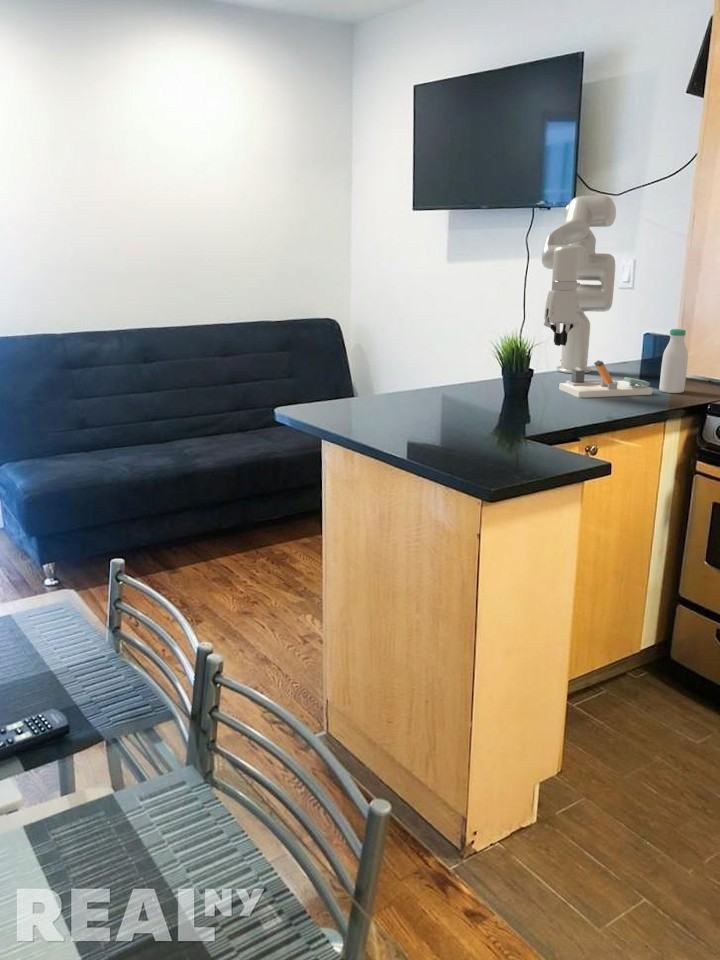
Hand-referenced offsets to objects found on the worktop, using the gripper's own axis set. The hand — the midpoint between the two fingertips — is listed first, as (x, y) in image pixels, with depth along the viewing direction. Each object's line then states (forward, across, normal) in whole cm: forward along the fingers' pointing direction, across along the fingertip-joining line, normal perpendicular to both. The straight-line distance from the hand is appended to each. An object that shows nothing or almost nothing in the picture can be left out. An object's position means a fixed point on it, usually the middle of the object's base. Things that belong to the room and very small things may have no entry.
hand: (560, 344), depth 263 cm
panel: (+15, -14, +4) cm, 21 cm away
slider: (+13, -7, 0) cm, 15 cm away
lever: (+12, -14, +8) cm, 20 cm away
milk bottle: (+15, -36, +8) cm, 40 cm away
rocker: (+12, -23, +9) cm, 27 cm away
